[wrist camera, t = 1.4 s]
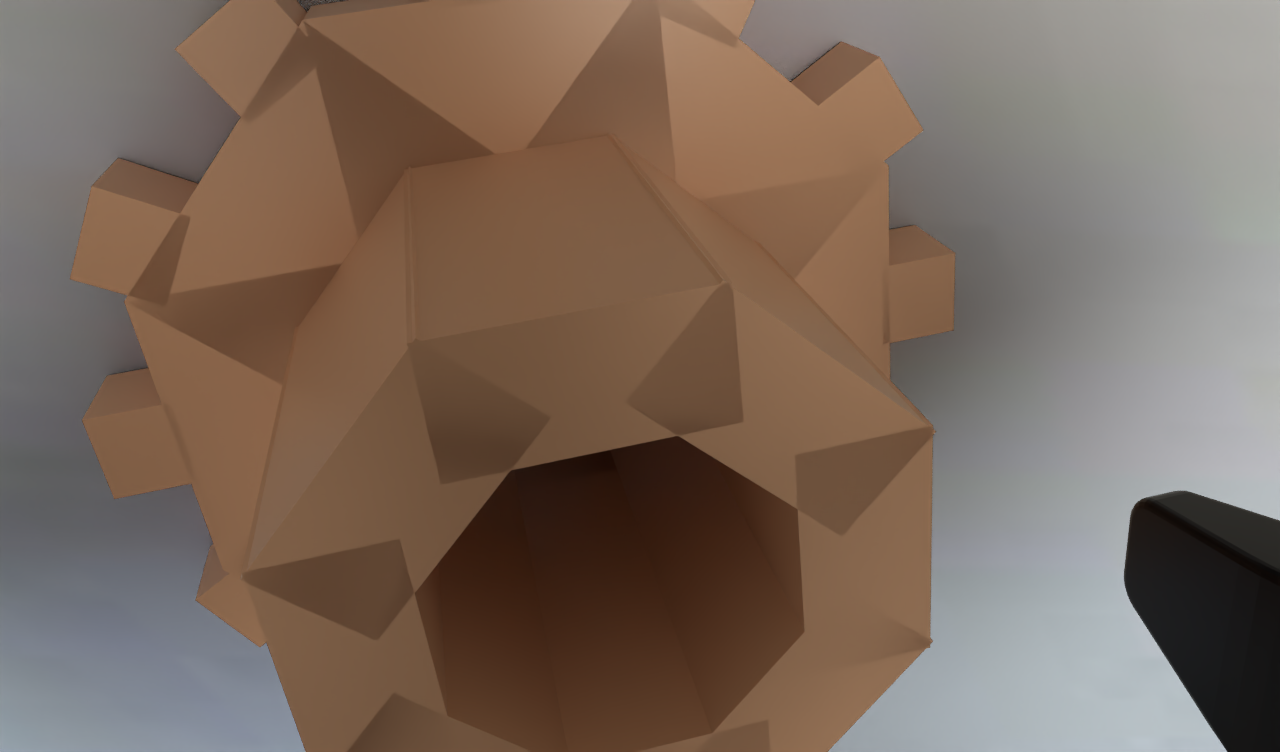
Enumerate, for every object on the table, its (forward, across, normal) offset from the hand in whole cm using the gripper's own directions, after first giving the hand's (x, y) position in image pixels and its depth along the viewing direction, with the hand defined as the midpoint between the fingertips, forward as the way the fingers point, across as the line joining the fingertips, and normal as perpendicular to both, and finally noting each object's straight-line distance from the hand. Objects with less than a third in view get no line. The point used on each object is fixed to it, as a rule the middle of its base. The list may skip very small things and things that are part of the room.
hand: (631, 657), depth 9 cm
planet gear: (+6, 0, 0) cm, 6 cm away
